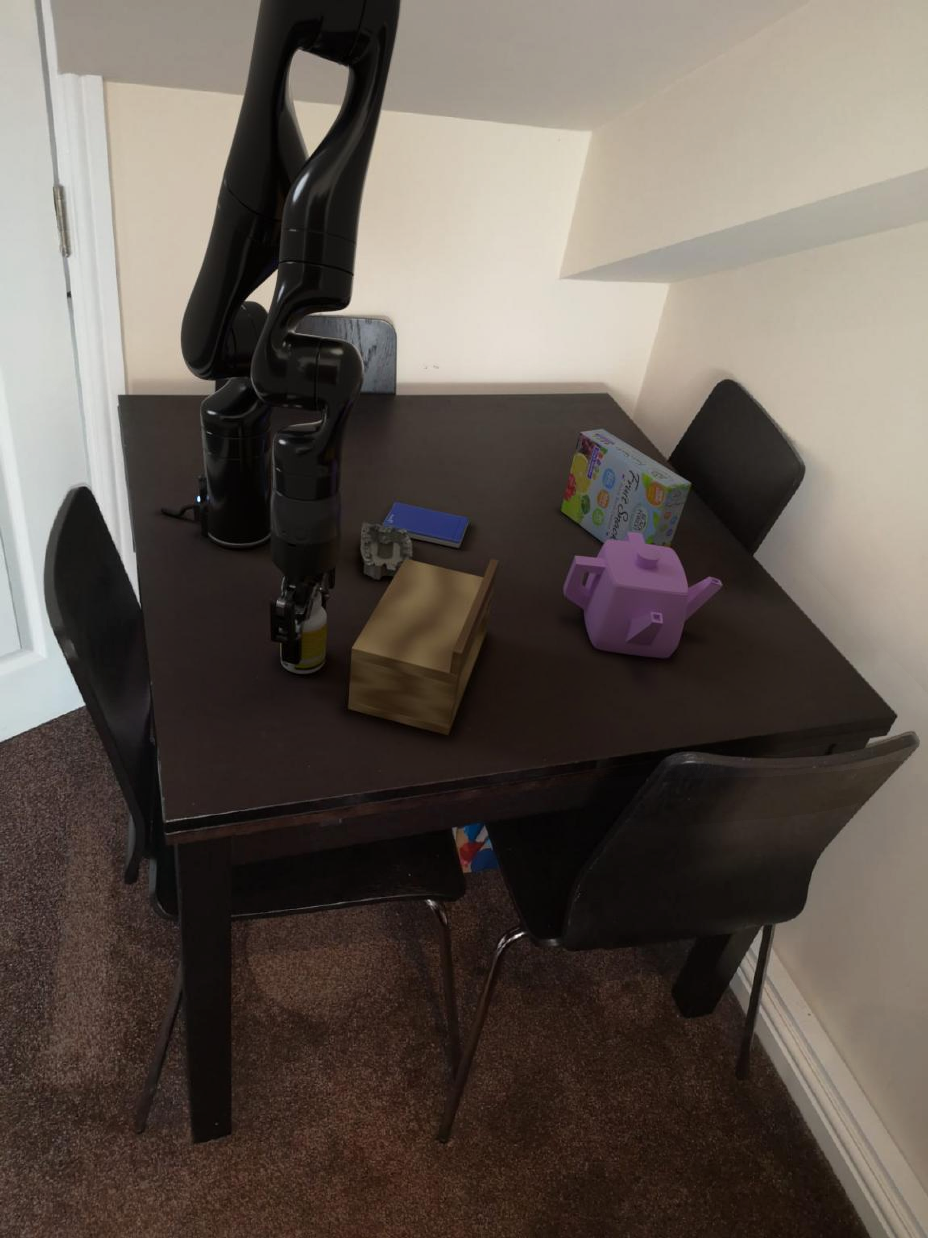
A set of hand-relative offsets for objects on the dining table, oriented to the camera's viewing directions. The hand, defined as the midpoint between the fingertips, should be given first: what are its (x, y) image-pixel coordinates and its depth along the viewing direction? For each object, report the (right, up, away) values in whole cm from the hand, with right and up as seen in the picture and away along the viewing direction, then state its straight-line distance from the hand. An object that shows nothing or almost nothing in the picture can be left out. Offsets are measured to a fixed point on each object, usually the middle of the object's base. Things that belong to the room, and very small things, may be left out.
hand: (304, 642), depth 96 cm
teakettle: (+43, +1, +17) cm, 46 cm away
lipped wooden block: (+14, -3, +3) cm, 15 cm away
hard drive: (+13, +17, +32) cm, 38 cm away
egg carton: (+7, +11, +23) cm, 26 cm away
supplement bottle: (-1, -2, +2) cm, 3 cm away
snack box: (+44, +16, +37) cm, 60 cm away
